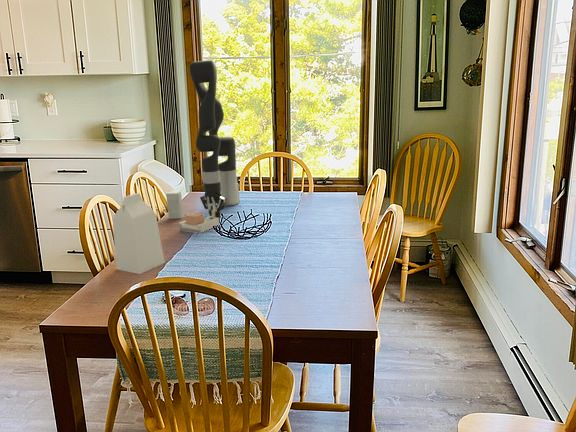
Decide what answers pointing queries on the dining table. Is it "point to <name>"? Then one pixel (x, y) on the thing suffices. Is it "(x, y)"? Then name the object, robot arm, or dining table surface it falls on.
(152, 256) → the milk
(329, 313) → the dining table surface
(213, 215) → the peach block with knob
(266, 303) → the dining table surface
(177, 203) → the skincare box
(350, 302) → the dining table surface
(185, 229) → the shelf lane
